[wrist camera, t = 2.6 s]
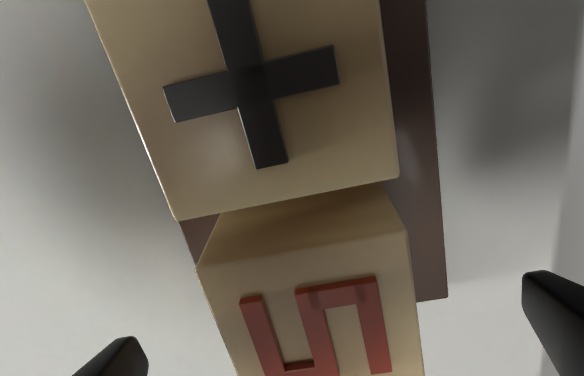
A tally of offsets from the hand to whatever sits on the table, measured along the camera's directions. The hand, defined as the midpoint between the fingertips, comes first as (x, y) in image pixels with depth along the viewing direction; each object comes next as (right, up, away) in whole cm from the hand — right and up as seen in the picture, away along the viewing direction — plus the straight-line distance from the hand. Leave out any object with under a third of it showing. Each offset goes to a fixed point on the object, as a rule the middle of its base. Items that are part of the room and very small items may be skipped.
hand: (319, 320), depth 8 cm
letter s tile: (0, +1, +3) cm, 3 cm away
